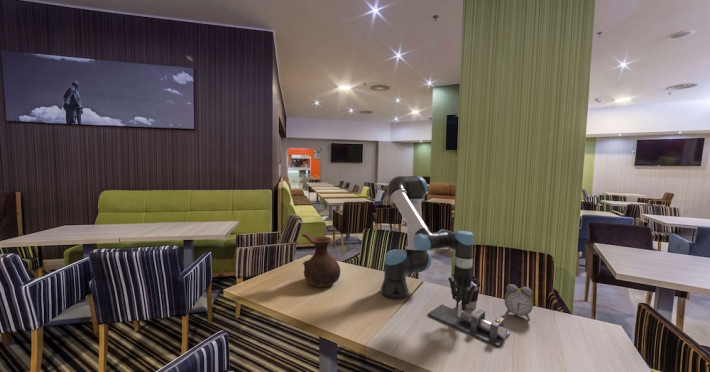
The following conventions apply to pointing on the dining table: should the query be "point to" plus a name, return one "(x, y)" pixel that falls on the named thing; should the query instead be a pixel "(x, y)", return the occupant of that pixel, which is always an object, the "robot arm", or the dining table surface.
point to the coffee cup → (475, 295)
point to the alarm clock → (518, 300)
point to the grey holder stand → (453, 320)
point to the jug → (321, 264)
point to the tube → (484, 324)
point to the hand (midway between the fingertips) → (460, 316)
